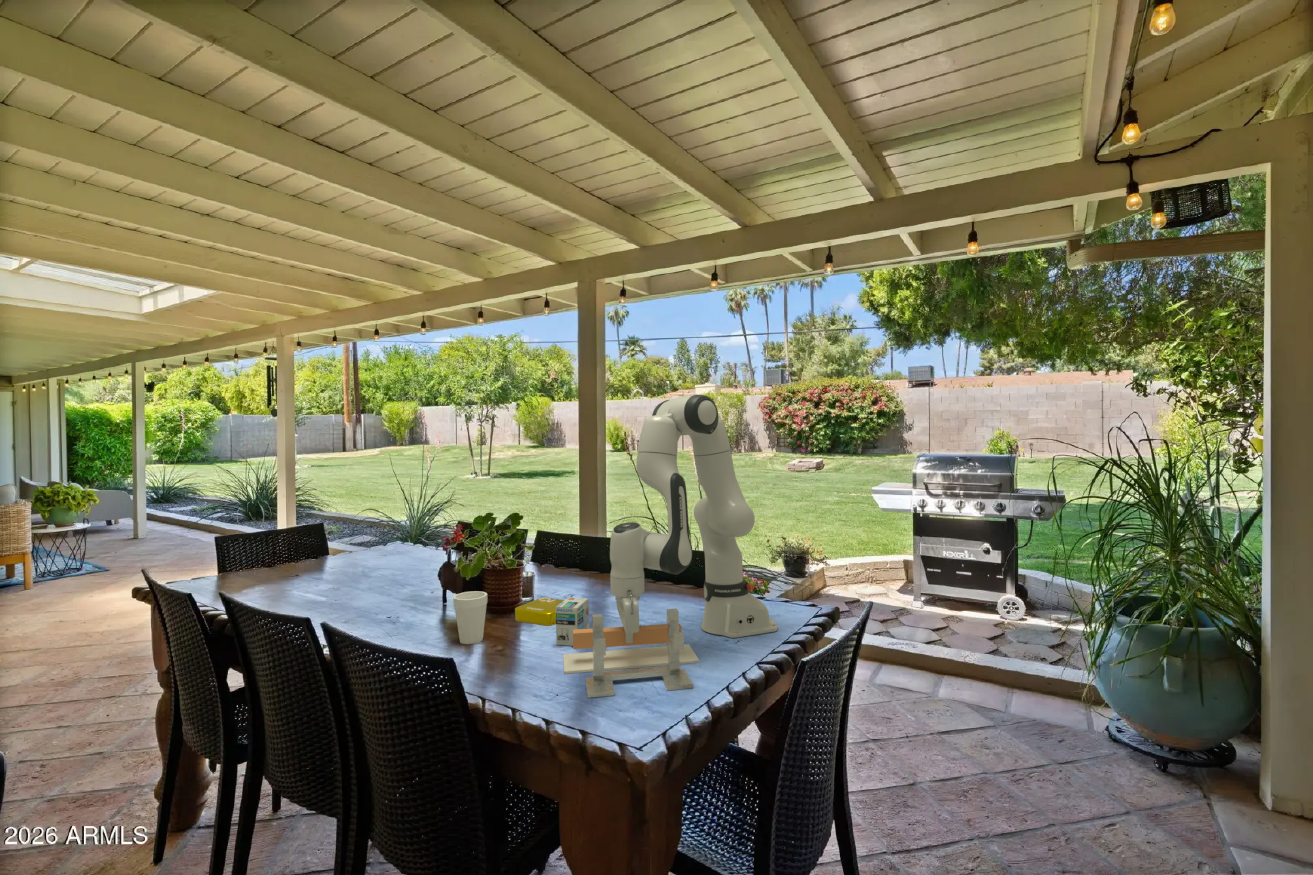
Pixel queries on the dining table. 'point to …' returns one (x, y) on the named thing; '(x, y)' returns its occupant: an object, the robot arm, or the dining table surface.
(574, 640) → the rail
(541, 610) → the element tile
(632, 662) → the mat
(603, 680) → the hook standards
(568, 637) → the light bulb box
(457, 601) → the foam cup
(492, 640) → the dining table surface
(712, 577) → the robot arm
